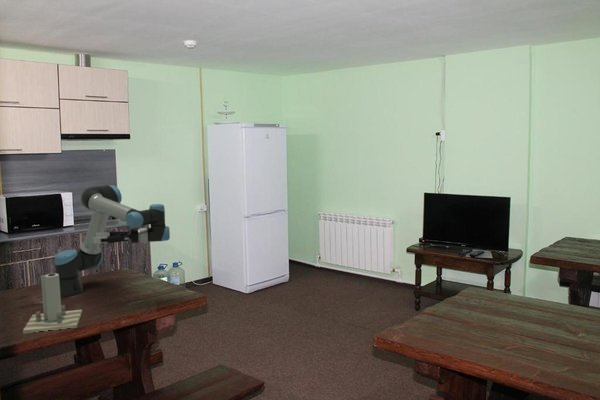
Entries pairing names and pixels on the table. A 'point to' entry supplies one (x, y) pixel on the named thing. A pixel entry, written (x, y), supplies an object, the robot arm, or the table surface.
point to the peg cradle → (63, 321)
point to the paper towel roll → (51, 296)
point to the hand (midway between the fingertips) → (94, 238)
